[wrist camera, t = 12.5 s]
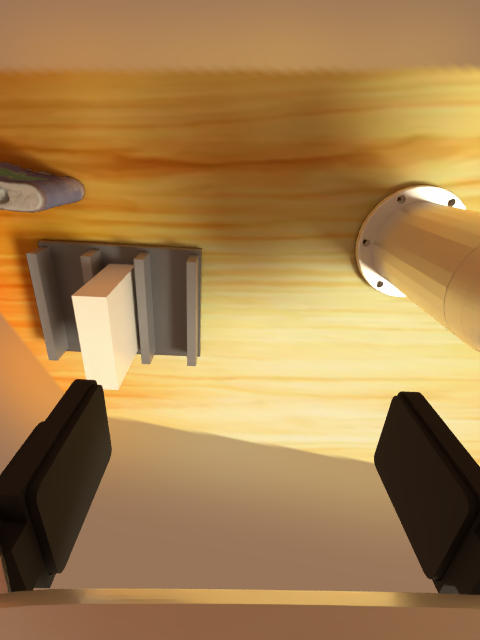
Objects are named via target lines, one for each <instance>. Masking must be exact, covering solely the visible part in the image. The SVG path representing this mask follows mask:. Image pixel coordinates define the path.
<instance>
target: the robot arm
mask: <svg viewBox="0 0 480 640" xmlns="http://www.w3.org/2000/svg"><path fill="white" fill-rule="evenodd" d="M398 197H400V199H399V201H397V199H398ZM448 201H449V202H448ZM447 202H448V203H447ZM363 240H365V242H364V243H362V242H363ZM355 255H356V263H357V266H358V269H359V271H360V273H361V275H362V276H363V278H364V279H365V280H366V281H367V282H368V284H369V285H371V286H372V287H373V288H374V289H375V290H377V291H379V292H381V293H383V294H386V295H390V296H394V297H408V298H409V299H410V300H411V301H413V302H414V303H415V304H416V305H418V306H419V307H420V308H421V309H423V310H424V311H425V312H426V313H428V314H429V315H430V316H431V317H433V318H434V319H435V320H436V321H438V322H439V323H440V324H441V325H443V326H444V327H445V328H447V329H448V330H449V331H450V332H452V333H453V334H454V335H456V336H457V337H458V338H460V339H461V340H462V341H463V342H465V343H466V344H467V345H469V346H470V347H472V348H473V349H475V350H476V351H478V352H480V213H479V212H474V211H470V210H467V209H466V207H465V205H464V204H463V203H462V201H461V200H460V199H459V198H458V197H457V196H456V195H454V194H453V193H452V192H450V191H448V190H446V189H443V188H441V187H436V186H428V185H418V186H411V187H407V188H404V189H401V190H398V191H396V192H395V193H393V194H391V195H389V196H387V197H386V198H385V199H384V200H382V201H381V202H380V203H378V204H377V206H376V207H375V208H374V209H373V210H372V211H371V212H370V213H369V215H368V216H367V218H366V219H365V221H364V222H363V224H362V227H361V229H360V231H359V234H358V237H357V241H356V251H355ZM378 281H379V282H378ZM377 282H378V283H377ZM111 450H112V448H111V440H110V433H109V427H108V421H107V413H106V406H105V399H104V392H103V387H102V385H97V382H96V380H84V379H76V380H75V381H74V382H73V383H72V384H71V386H70V387H69V388H68V390H67V391H66V393H65V394H64V395H63V397H62V398H61V400H60V401H59V402H58V404H57V405H56V406H55V408H54V409H53V411H52V412H51V413H50V415H49V416H48V418H47V419H46V420H45V421H43V422H41V423H39V424H38V425H37V426H36V427H35V429H34V430H33V432H32V433H31V434H30V435H29V437H28V438H27V440H26V441H25V442H24V444H23V445H22V446H21V448H20V449H19V450H18V452H17V453H16V454H15V456H14V457H13V458H12V460H11V461H10V463H9V464H8V465H7V467H6V468H5V469H4V471H3V472H2V473H1V475H0V640H480V467H479V465H478V464H477V463H476V462H475V460H474V459H473V458H472V457H471V455H470V454H469V453H468V452H467V450H466V449H465V448H464V447H463V445H462V444H461V443H460V442H459V440H458V439H457V438H456V436H455V435H454V434H453V433H452V431H451V430H450V429H449V428H448V426H447V425H446V424H445V423H444V421H443V420H442V419H441V418H440V416H439V415H438V414H437V413H436V411H435V410H434V409H433V408H432V406H431V405H430V404H429V403H428V401H427V400H426V399H425V398H424V396H423V395H422V394H421V393H419V392H399V393H398V395H397V396H394V397H393V399H392V401H391V405H390V408H389V411H388V414H387V417H386V420H385V423H384V427H383V430H382V433H381V436H380V439H379V442H378V445H377V449H376V452H375V455H374V463H375V466H376V469H377V471H378V473H379V476H380V478H381V480H382V482H383V484H384V486H385V489H386V491H387V493H388V495H389V497H390V500H391V502H392V504H393V506H394V508H395V510H396V513H397V515H398V517H399V519H400V521H401V524H402V526H403V528H404V530H405V532H406V534H407V537H408V539H409V541H410V543H411V545H412V548H413V550H414V552H415V554H416V556H417V558H418V560H419V563H420V565H421V567H422V569H423V571H424V573H425V575H426V576H427V578H429V579H432V580H433V582H434V584H435V587H436V589H437V591H438V593H405V592H358V591H357V592H356V591H353V592H352V591H300V590H299V591H298V590H295V591H294V590H228V589H226V590H225V589H224V590H223V589H48V590H33V588H50V586H51V584H52V582H53V579H54V577H55V575H56V573H61V572H62V571H63V570H64V568H65V566H66V564H67V561H68V559H69V556H70V554H71V551H72V549H73V546H74V544H75V542H76V539H77V537H78V534H79V532H80V530H81V527H82V525H83V522H84V520H85V518H86V515H87V513H88V510H89V508H90V506H91V503H92V501H93V498H94V496H95V493H96V491H97V489H98V486H99V484H100V481H101V479H102V477H103V474H104V472H105V469H106V467H107V464H108V462H109V460H110V456H111Z"/></svg>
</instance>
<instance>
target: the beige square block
mask: <svg viewBox="0 0 480 640" xmlns="http://www.w3.org/2000/svg"><path fill="white" fill-rule="evenodd" d="M72 301H73V307H74V313H75V318H76V324H77V330H78V335H79V341H80V347H81V352H82V358H83V364H84V369H85V375H86V380H96V382H97V385H102V387H103V389H112V390H118V389H119V387H120V385H121V383H122V381H123V379H124V377H125V375H126V373H127V371H128V369H129V367H130V365H131V363H132V361H133V359H134V357H135V355H136V353H137V351H138V349H139V347H140V334H139V321H138V308H137V295H136V282H135V269H134V265H128V264H108V265H107V266H106V267H105V268H104V269H103V270H101V271H100V272H99V273H98V274H97V275H96V276H94V277H93V278H92V279H91V280H90V281H88V282H87V283H86V284H85V285H84V286H83V287H81V288H80V289H79V290H78V291H77V292H76V293H74V294H73V295H72Z"/></svg>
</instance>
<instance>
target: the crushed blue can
mask: <svg viewBox="0 0 480 640" xmlns="http://www.w3.org/2000/svg"><path fill="white" fill-rule="evenodd" d="M84 194H85V190H84V185H83V184H82V183H81V182H80V181H78V180H76V179H73V178H70V177H67V176H66V177H60V176H56V175H53V174H52V173H48V172H47V171H46V172H44V171H40V172H33V171H31V169H30V168H29V169H23V168H21V167H19V166H18V165H14V164H11V163H7V162H0V210H9V211H17V212H33V213H34V212H39V211H43V210H46V209H49V208H53V207H56V206H61V205H64V204H70V203H74V202H78V201H80V200H81V199H82V198H83V197H84Z"/></svg>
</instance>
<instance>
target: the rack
mask: <svg viewBox="0 0 480 640" xmlns="http://www.w3.org/2000/svg"><path fill="white" fill-rule="evenodd" d="M38 246H39V248H36V249H34V250H32V251H30V252H28V253H26V256H27V261H28V265H29V270H30V274H31V279H32V284H33V288H34V293H35V297H36V302H37V307H38V311H39V316H40V320H41V325H42V329H43V334H44V339H45V343H46V348H47V352H48V357H49V360H59V358H60V357H61V356H62V355H63V354H64V353H65V351H78V352H81V347H80V341H79V335H78V330H77V324H76V318H75V313H74V307H73V301H72V295H73V294H74V293H76V292H77V291H78V290H79V289H80V288H81V287H83V286H84V285H85V284H86V283H87V282H88V281H90V280H91V279H92V278H93V277H94V276H96V275H97V274H98V273H99V272H100V271H101V270H103V269H104V268H105V267H106V266H107V265H108V264H128V265H134V269H135V282H136V295H137V308H138V321H139V334H140V347H139V349H138V351H137V353H136V354H141V359H142V364H150V363H151V361H152V358H153V356H154V355H175V356H187V366H196V361H197V356H199V357H200V347H201V260H202V249H198V248H180V247H162V246H144V245H126V244H108V243H90V242H72V241H54V240H41V241H38Z"/></svg>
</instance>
